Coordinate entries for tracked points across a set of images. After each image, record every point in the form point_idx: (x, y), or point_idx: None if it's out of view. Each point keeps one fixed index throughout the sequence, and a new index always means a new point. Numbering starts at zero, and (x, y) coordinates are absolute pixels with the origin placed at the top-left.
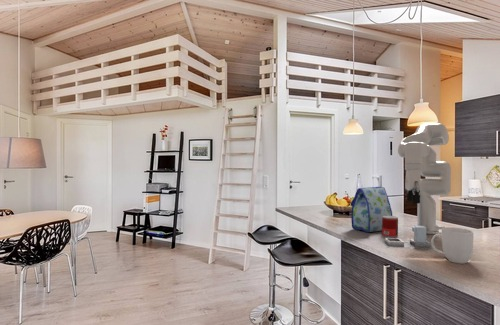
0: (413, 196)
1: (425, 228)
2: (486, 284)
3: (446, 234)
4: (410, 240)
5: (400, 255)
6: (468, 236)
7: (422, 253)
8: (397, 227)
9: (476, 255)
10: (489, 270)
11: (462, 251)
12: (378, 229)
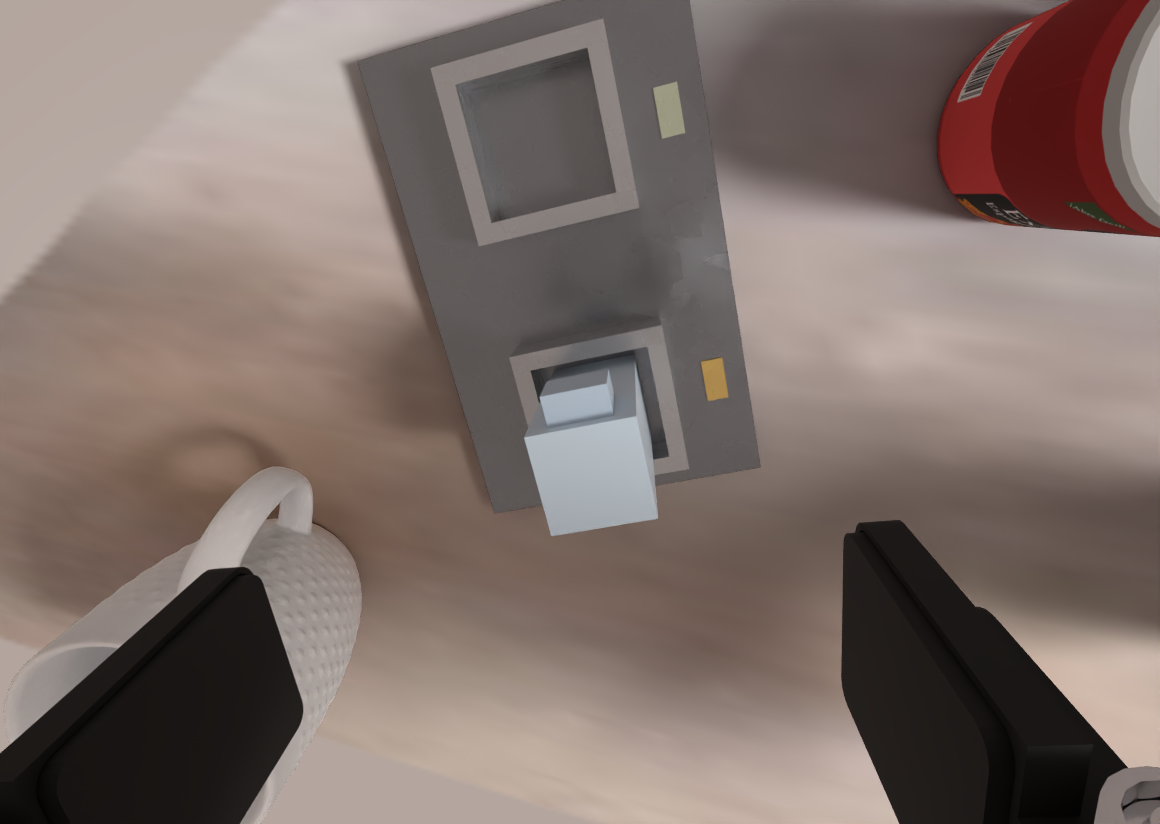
0: (48, 746)
1: (548, 521)
2: None
3: (65, 631)
4: (639, 326)
5: (225, 181)
6: None
7: (389, 378)
8: (1048, 220)
9: (514, 716)
10: None
11: None
12: None
